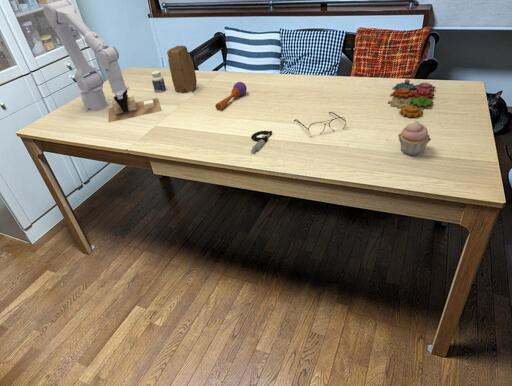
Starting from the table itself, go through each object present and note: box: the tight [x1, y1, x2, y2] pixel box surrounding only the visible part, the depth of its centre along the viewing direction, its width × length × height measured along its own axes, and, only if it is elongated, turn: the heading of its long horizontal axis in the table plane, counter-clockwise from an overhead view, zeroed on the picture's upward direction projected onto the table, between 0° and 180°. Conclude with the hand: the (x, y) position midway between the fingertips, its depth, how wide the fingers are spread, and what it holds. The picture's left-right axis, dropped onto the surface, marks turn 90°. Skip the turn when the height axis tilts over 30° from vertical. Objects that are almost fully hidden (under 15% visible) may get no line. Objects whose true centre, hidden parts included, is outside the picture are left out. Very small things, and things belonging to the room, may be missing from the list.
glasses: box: [293, 111, 347, 135], centre depth 134 cm, size 14×15×5 cm
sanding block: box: [111, 95, 137, 115], centre depth 158 cm, size 9×4×5 cm, turn 108°
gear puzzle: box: [387, 78, 436, 118], centre depth 142 cm, size 31×16×4 cm, turn 157°
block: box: [166, 45, 198, 94], centre depth 169 cm, size 11×8×20 cm
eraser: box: [143, 98, 155, 109], centre depth 161 cm, size 4×4×2 cm
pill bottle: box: [151, 70, 167, 93], centre depth 174 cm, size 5×5×10 cm
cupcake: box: [397, 120, 432, 156], centre depth 112 cm, size 9×9×10 cm
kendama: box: [215, 81, 248, 111], centre depth 158 cm, size 6×6×20 cm
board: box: [108, 97, 162, 123], centre depth 161 cm, size 22×16×1 cm
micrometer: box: [250, 130, 273, 155], centre depth 128 cm, size 15×7×2 cm, turn 153°
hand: (125, 109), depth 159 cm, fingers closed on sanding block, 4 cm apart
